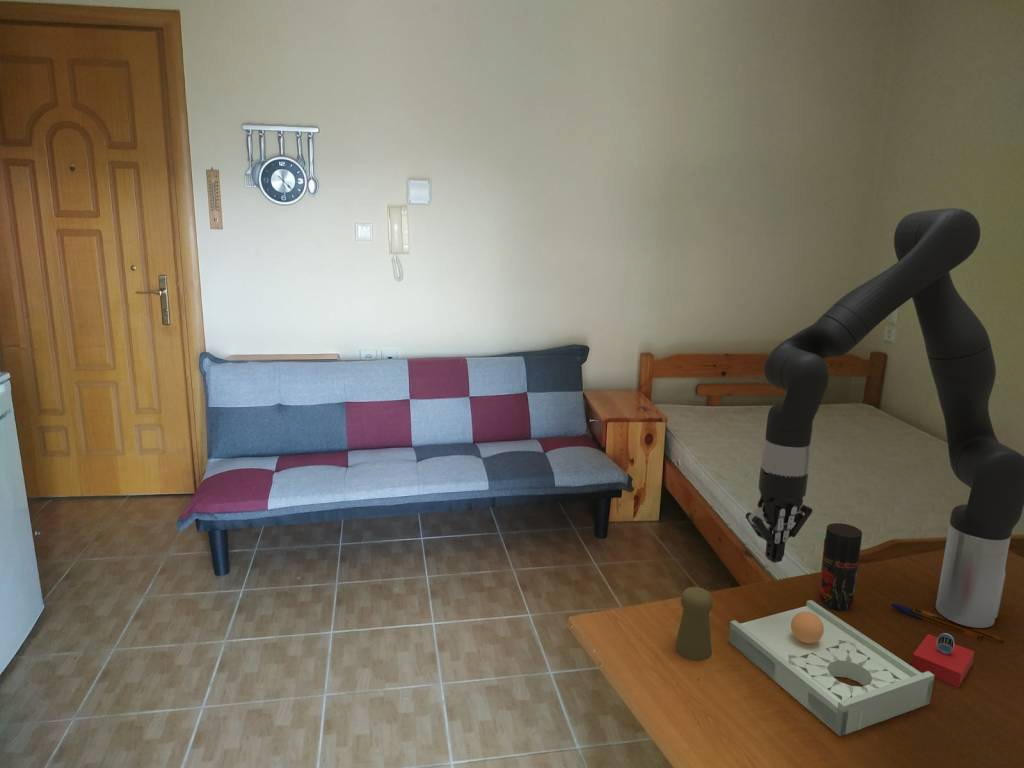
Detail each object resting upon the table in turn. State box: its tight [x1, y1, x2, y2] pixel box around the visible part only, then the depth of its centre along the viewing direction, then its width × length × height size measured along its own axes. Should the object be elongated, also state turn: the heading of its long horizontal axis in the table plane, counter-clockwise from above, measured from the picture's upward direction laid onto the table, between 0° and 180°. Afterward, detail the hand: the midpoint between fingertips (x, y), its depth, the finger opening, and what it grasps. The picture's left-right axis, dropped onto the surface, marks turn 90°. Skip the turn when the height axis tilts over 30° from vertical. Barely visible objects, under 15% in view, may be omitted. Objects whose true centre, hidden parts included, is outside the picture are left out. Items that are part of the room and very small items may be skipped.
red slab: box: [910, 632, 975, 689], centre depth 113 cm, size 8×7×6 cm
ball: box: [791, 611, 824, 643], centre depth 114 cm, size 5×5×5 cm
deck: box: [728, 599, 935, 737], centre depth 112 cm, size 18×24×5 cm
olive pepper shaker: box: [674, 586, 714, 662], centre depth 116 cm, size 6×6×11 cm
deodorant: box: [817, 522, 863, 612], centre depth 130 cm, size 6×6×15 cm
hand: (773, 560), depth 120 cm, fingers closed
